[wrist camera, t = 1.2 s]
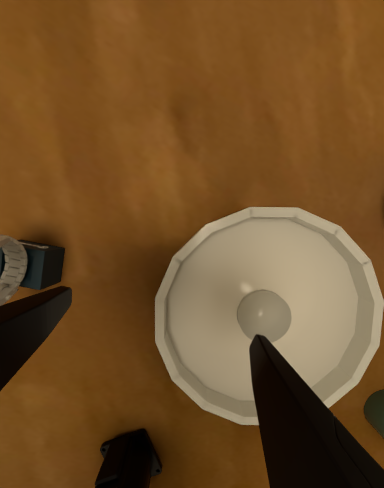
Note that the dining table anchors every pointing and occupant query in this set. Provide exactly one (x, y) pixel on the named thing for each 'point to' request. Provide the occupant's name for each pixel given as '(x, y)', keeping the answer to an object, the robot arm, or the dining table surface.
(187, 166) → the dining table surface
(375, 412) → the bead jar
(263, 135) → the dining table surface
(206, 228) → the groove tray
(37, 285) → the watch
